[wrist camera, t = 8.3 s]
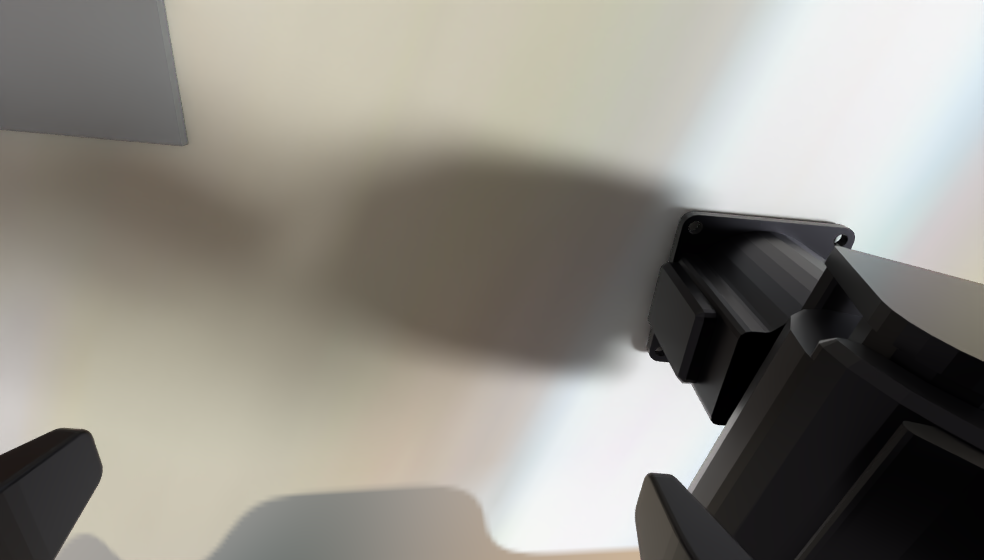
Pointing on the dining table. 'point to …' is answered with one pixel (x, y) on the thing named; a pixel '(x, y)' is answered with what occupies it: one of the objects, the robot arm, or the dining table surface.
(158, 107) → the mat
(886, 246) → the dining table surface
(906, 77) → the dining table surface
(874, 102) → the dining table surface
